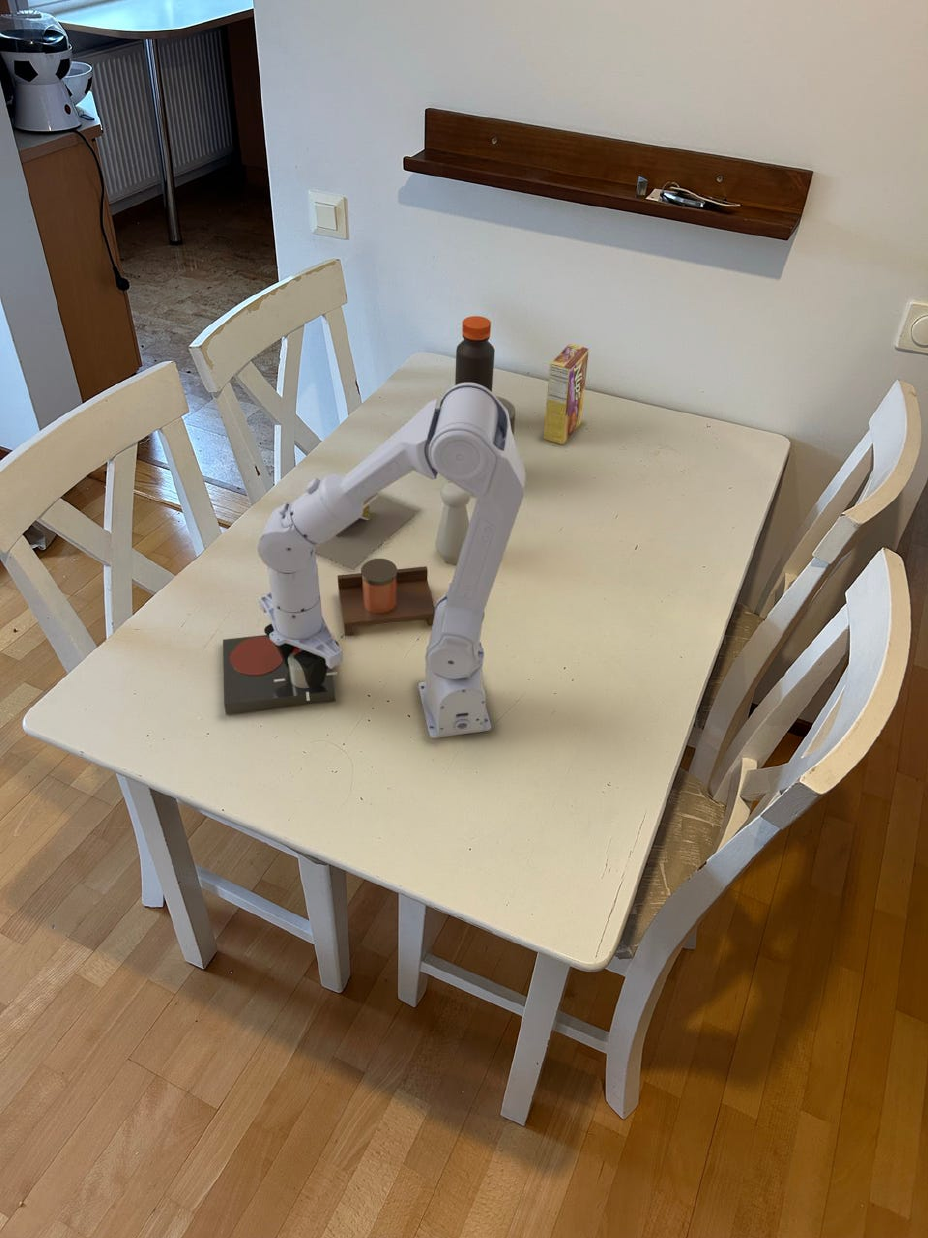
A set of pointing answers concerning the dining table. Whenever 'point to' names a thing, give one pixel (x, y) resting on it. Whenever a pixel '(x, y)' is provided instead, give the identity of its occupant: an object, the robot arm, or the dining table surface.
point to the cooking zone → (256, 656)
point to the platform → (366, 531)
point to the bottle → (475, 353)
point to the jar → (379, 585)
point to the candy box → (565, 393)
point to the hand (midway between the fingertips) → (305, 674)
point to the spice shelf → (410, 606)
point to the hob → (268, 687)
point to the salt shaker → (452, 523)
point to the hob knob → (296, 671)
